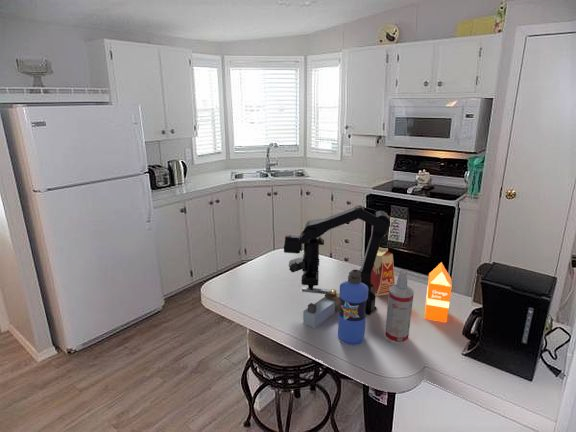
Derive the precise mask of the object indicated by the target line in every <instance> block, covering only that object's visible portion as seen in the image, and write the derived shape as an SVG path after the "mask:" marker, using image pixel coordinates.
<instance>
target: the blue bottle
mask: <svg viewBox="0 0 576 432" xmlns="http://www.w3.org/2000/svg"><path fill="white" fill-rule="evenodd" d="M358 270H359V269H357V270H356V269H352V270H350V271H349V272H348V276H347V281H343V282H341V283H340V285H339V293H338V294H339V296H340V304H341V306H340V310H338V322H337V324H338V325H337V339H338V341H340V342H341V343H342V344H346V345H351V346H355V345H356V346H357V345H360V344H362V343H363V342H364V340H365V334H366V321H367V320H366V319H367V318H366V317H367V314H366V313H365V306H366V302H367V299H368V286H367V285H365V284H364V283H362V282H361V276H360V275H361V273H360V272H359V271H358Z"/></svg>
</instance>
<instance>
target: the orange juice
mask: <svg viewBox="0 0 576 432" xmlns="http://www.w3.org/2000/svg"><path fill="white" fill-rule="evenodd" d="M427 281H428V283H427V288H426V297H425V304H424V305H425V306H424V319H425V320H430V321H436V322H441V323H447V321H448V314H449V309H450V303H451V302H450V301H451V294H452V289H453V288H452V278H451V276H450V274H449V273H448V271H447V269H446V268H445V265H444V264H443V262H442V261H441V262H440V263H438V265H436V267H435V268H433V270H431V271H430V272H429V273H428V280H427Z"/></svg>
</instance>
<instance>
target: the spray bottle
mask: <svg viewBox="0 0 576 432" xmlns="http://www.w3.org/2000/svg"><path fill="white" fill-rule="evenodd" d="M407 275H408V271H407V270H405V269H401V270H399V275H398V278H397V281H396V284H395V285H392V286H390V287H389V294H388V299H387V300H388V301H387V309H386V310H387V311H386V320H385V331H384V337H385V340H387V341H388V342H389V343H392V344H396V345H403V344H404V345H405V344H406V343H407V342H408V341H409V336H410V328H411V319H412V312H413V310H412V309H413V302H414V293H415V292H414V289H413V288H412V287H410V286H409V285H408V278H407V277H408V276H407Z"/></svg>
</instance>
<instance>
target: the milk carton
mask: <svg viewBox="0 0 576 432" xmlns="http://www.w3.org/2000/svg"><path fill="white" fill-rule="evenodd" d="M394 267H395V265H394V254H393V252H390V251H389V248H387V247H385V248H384V247H380V246H379V249H378V253H377V256H376V259H375V262H374V266H373V269H372V272H371V283H372V284H373V285H374V290H375V296H376V297H378V296H384V295H385V296H386V295H389V287H390V286H392V285H396V281H395V278H396V277H395V268H394Z"/></svg>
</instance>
